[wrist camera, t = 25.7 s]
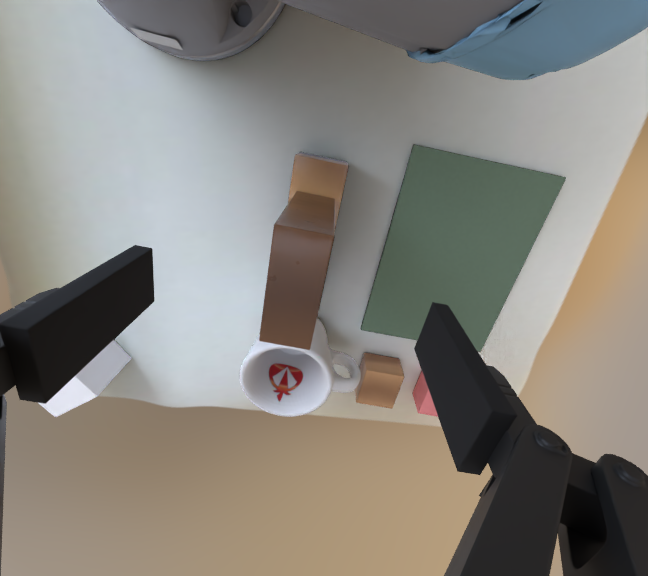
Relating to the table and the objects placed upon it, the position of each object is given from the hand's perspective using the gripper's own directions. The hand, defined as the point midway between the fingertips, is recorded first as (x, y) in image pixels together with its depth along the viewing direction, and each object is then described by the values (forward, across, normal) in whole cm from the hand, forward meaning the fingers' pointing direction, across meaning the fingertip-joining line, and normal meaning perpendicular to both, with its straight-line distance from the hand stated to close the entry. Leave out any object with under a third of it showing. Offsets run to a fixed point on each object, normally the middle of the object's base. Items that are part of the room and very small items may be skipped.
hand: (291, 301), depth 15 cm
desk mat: (+16, +14, -1) cm, 21 cm away
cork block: (+16, +10, -16) cm, 24 cm away
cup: (+16, +2, -12) cm, 20 cm away
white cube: (+16, -22, -19) cm, 33 cm away
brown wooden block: (+16, 0, -1) cm, 16 cm away
